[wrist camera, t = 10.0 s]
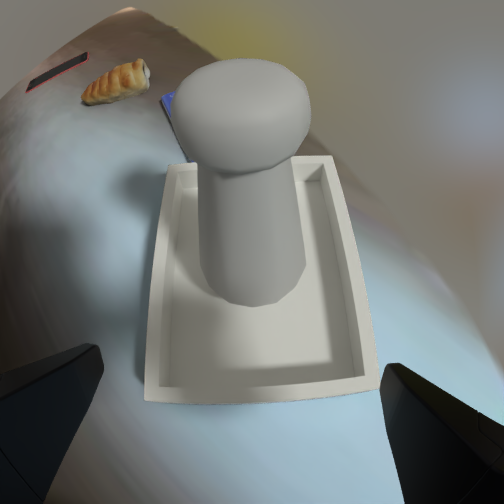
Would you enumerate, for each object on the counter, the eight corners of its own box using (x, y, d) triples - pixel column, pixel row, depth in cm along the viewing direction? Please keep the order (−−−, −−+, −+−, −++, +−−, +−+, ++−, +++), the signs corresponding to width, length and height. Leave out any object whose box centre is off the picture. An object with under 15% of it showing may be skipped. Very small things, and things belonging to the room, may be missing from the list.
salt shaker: (319, 267, 19) (372, 75, 8) (262, 338, 17) (257, 172, 6) (247, 220, 21) (230, 33, 10) (188, 280, 19) (104, 99, 8)
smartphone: (29, 81, 42) (88, 50, 45) (30, 83, 43) (89, 52, 45) (24, 93, 39) (88, 59, 41) (25, 96, 39) (89, 62, 42)
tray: (366, 391, 16) (380, 387, 13) (159, 402, 16) (144, 400, 14) (327, 178, 24) (331, 155, 21) (175, 187, 24) (168, 165, 22)
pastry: (82, 117, 31) (71, 94, 28) (89, 94, 34) (80, 73, 31) (152, 93, 32) (145, 67, 29) (151, 72, 35) (145, 50, 32)
